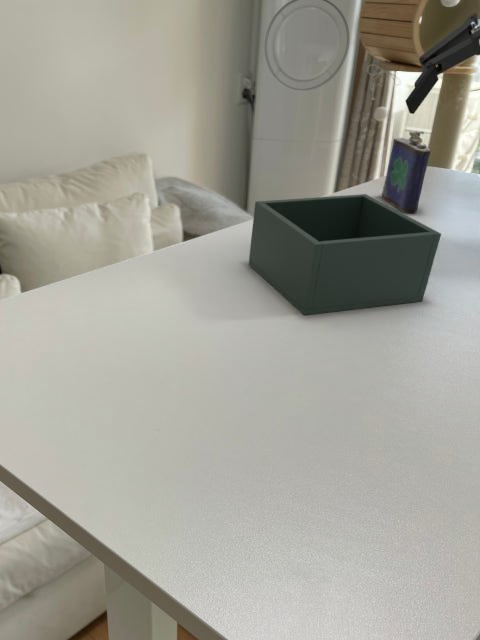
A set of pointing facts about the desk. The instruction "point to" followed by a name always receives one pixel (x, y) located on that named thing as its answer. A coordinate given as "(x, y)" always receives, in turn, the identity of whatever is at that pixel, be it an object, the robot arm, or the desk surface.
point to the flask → (406, 173)
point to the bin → (341, 252)
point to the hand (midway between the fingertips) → (447, 115)
